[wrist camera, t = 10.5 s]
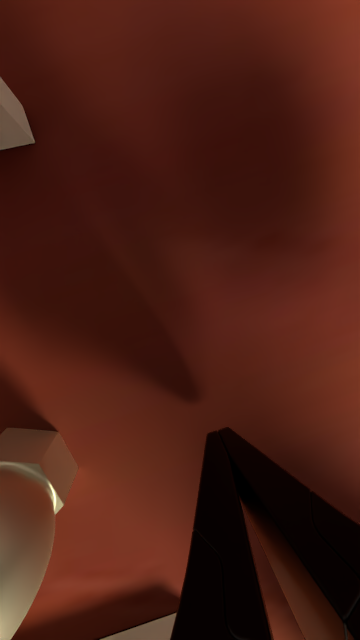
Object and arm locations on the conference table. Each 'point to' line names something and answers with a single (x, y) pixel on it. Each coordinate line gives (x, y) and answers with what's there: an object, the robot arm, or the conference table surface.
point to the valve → (28, 515)
